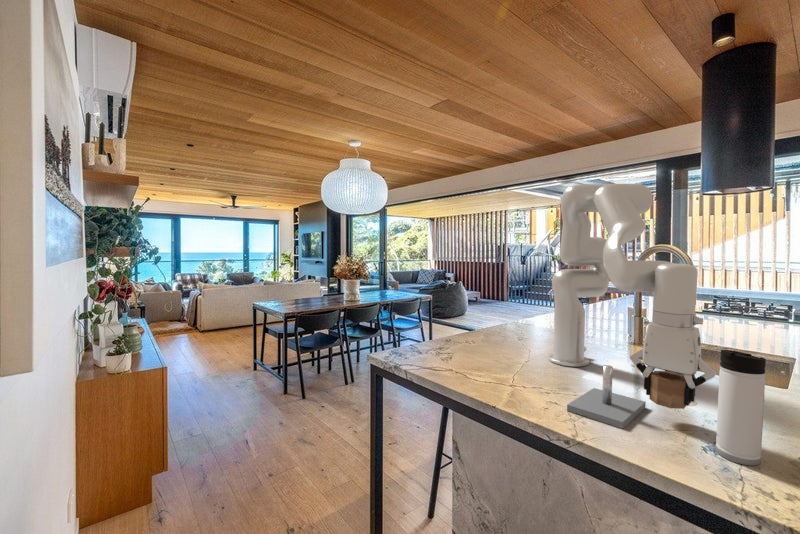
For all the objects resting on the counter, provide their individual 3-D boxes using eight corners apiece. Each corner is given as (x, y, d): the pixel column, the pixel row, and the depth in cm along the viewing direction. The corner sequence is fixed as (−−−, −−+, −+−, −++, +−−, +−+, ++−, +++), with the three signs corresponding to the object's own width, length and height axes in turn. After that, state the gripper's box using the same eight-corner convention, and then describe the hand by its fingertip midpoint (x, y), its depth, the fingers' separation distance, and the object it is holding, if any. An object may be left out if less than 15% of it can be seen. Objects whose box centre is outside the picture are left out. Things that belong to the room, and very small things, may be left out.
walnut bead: (655, 393, 89) (656, 368, 88) (688, 402, 84) (690, 376, 84) (646, 401, 85) (648, 375, 84) (681, 411, 80) (683, 384, 79)
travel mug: (705, 448, 73) (709, 347, 72) (736, 447, 74) (741, 346, 73) (736, 467, 67) (742, 356, 66) (770, 465, 67) (776, 355, 66)
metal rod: (603, 400, 92) (605, 364, 92) (612, 403, 91) (613, 366, 90) (600, 403, 91) (601, 366, 90) (609, 405, 89) (610, 368, 89)
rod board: (593, 393, 100) (593, 387, 100) (645, 407, 92) (645, 401, 91) (566, 410, 90) (567, 404, 90) (622, 428, 81) (622, 422, 81)
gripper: (727, 323, 79) (721, 406, 80) (634, 311, 92) (630, 382, 93) (721, 329, 74) (714, 417, 75) (623, 315, 87) (619, 391, 88)
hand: (668, 397), depth 84 cm, fingers closed on walnut bead, 6 cm apart
